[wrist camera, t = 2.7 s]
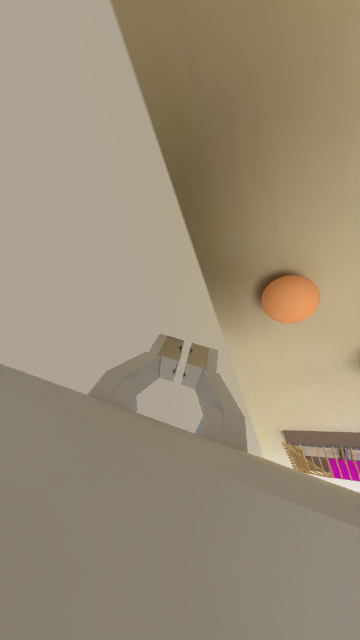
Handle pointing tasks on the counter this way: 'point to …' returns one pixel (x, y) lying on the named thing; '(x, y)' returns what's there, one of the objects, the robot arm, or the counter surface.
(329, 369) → the counter surface
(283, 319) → the ball
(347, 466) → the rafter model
